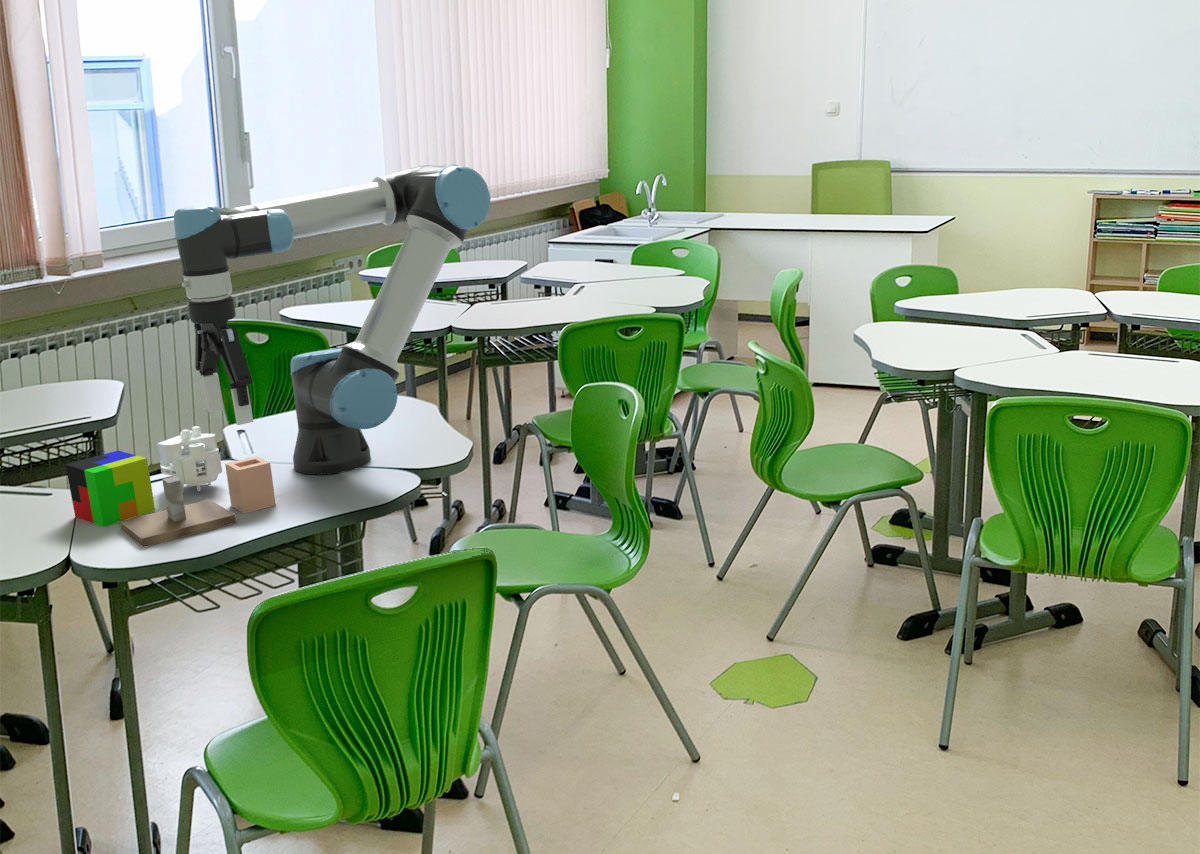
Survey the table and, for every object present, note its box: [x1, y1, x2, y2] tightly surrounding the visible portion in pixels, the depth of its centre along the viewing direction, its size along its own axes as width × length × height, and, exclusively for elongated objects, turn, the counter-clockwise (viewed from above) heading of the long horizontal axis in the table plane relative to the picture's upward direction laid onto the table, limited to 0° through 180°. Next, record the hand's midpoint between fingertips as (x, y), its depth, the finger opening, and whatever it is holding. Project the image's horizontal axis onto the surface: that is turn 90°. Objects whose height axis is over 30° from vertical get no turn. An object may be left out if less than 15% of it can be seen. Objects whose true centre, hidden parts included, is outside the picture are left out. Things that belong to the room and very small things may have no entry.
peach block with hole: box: [224, 456, 277, 514], centre depth 211 cm, size 6×6×8 cm
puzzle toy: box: [65, 449, 156, 528], centre depth 211 cm, size 10×10×10 cm
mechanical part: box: [156, 425, 223, 493], centre depth 223 cm, size 11×12×12 cm
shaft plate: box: [119, 476, 237, 548], centre depth 202 cm, size 16×12×8 cm
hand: (230, 416), depth 206 cm, fingers open, 13 cm apart
